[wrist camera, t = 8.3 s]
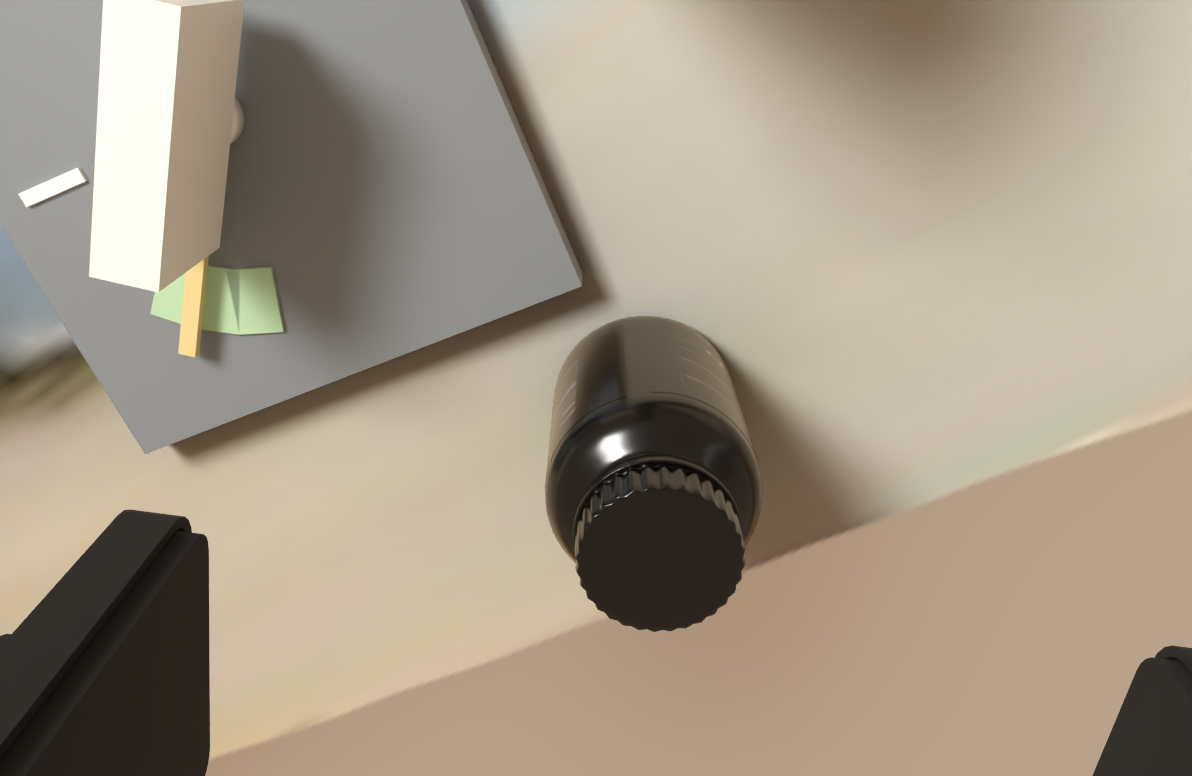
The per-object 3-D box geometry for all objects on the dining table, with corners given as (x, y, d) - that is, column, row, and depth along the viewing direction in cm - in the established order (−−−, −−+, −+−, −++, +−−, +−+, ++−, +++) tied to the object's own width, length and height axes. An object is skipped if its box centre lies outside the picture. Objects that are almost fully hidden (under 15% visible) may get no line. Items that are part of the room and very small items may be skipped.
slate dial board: (328, -326, 31) (314, -341, 29) (583, 273, 38) (581, 287, 36) (-159, -78, 34) (-195, -80, 32) (161, 437, 41) (143, 455, 39)
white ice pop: (193, -18, 33) (103, -13, 27) (257, -3, 33) (181, 6, 27) (163, 344, 37) (82, 414, 32) (219, 356, 37) (147, 429, 32)
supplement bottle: (631, 504, 42) (635, 703, 31) (519, 382, 40) (481, 547, 29) (770, 406, 40) (829, 579, 29) (660, 273, 38) (678, 404, 27)
